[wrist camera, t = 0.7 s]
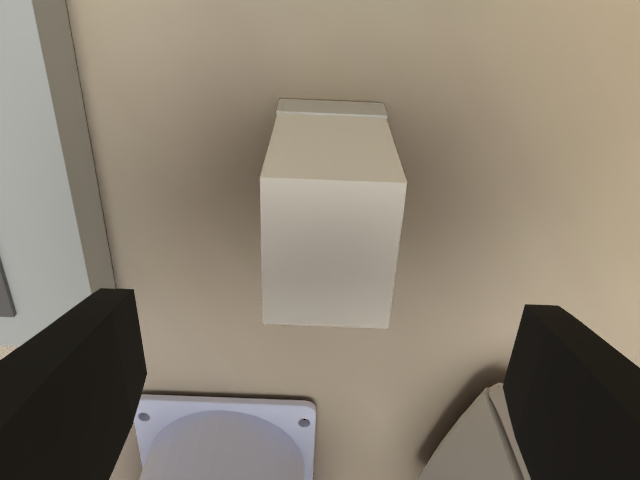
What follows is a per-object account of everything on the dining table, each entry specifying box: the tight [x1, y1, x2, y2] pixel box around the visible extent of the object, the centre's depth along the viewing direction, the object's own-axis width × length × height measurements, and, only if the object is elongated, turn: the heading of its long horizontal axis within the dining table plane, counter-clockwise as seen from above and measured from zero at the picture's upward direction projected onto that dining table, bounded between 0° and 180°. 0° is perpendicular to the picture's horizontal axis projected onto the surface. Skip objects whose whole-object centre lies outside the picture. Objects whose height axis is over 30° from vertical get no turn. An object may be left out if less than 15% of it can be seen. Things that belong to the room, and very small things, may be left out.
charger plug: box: [260, 99, 407, 329], centre depth 16 cm, size 4×3×6 cm
